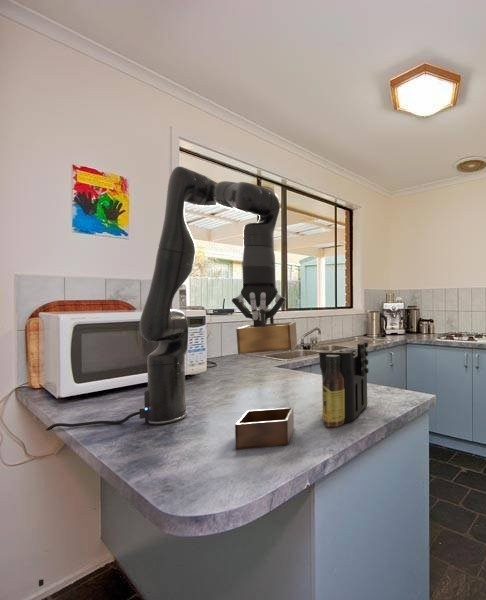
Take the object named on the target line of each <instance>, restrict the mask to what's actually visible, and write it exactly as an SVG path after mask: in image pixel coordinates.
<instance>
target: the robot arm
mask: <svg viewBox="0 0 486 600" xmlns="http://www.w3.org/2000/svg"><path fill="white" fill-rule="evenodd" d="M185 203H189V204H192V205H195V206H199V207H213V206H220V207H221V208H222V207H223V208H226V209H229V210H235V211H240V212H243V213H248V214H252V215H257V216H259V218H258V221H257V222H249V223H246V224H245V225H244V226H243V228H242V229H243V230H242V237H243V238H242V240H243V248H242V249H243V250H242V260H241V265H242V288H241V290H240V294H239V295H237V296H236V297H233V298H232V299H231V303H232V304H233V305H234V306H235V307H236V308H237V309H238V310H239V311H240V313H241V314H242V315H243V316H244V317H245V318H246V319H251V320H252V322H253V325H254V327H262V326H261V314H260V310H261V309H268V308H269V305H271V304H272V302H275V304H274V305H273V307H271V308H272V309H271V310H270V312H269V313H267V314H265V325H266V326H267V324H268V320H269V319H270V318H271V317H273V318H274V317H275V315H276V314H277V313H278V311H279V310H280V309H281V308H282V307H283V306H284V305H285V303H286V302H287V298H286V297H283V296H282V295H281V294H279V291H278V288H277V287H276V255H275V254H276V253H275V239H274V237H275V235H274V234H275V229H276V225H277V221H278V217H279V214H280V210H281V200H280V198H279V194H277V192H275V191H274V190H273V189H270V188H267V187H263V186H260V185H259V184H255V183H251V182H246V181H239V182H236V181H229V180H222V181H219V182H217V181H215V180H213V179H211V178H209V177H208V176H206V175H204V174H201V173H199V172H197V171H194V170H191V169H190V168H187V167H184V166H180V165H179V166H176V167H175V168H173V170H172V171H171V172H170V175H169V179H168V184H167V191H166V200H165V210H164V211H165V212H164V219H163V224H162V230H161V234H160V239H159V243H158V248H157V253H156V256H155V257H156V258H155V264H154V269H153V274H152V277H151V278H152V279H151V282H150V287H149V290H148V295H147V298H146V301H145V304H144V306H143V309H142V312H141V316H140V319H139V333H140V335H141V337H142V339H144V340H145V341H147V342H152V343H156V342H158V343H159V344H158V346H157V347H156V349H154V350H153V351H152V352H150V353H149V354H148V355H147V358H146V363H147V367H146V368H147V369H146V370H147V371H146V372H147V389H146V390H145V391H144V392H143V394H144V395H143V397H144V399H143V400H144V401H143V402H144V406H143V407H140V408H139V411H134V412H132V413H130V414H128V415H127V416H126V417H124V418H123V419H120V420H95V421H84V422H75V423H66V422H65V423H64V422H57V423H53V424H51V425H49V426H48V427H47V428H45V431H47V432H48V431H51V430H53V429H55V428H57V427H63V428H75V427H84V426H91V425H93V426H94V425H119V424H123V423H126V422H127V421H128V420H130V419H131V418H133V417H135V416H138V415H139V420H141V419H144V424H146V425H155V426H156V425H158V426H159V425H165V424H170V423H174V422H179V421H181V420H183V419H185V418H186V417H187V411H186V408H187V405H186V365H185V363H186V357H185V356H186V354H187V352H188V347H189V321H188V318H187V316H186V314H185V313H184V312H183V311H181V310H179V309H172V305H173V300H174V298H175V295H176V294H177V292H178V291H179V289H180V288H181V287H182V285H184V283H185V282H186V281H187V279H188V277H189V276H190V275H191V273H192V271H193V267H194V263H195V260H196V259H195V258H196V253H197V248H196V243H195V241H194V238H193V235H192V234H191V231H190V229H189V227H188V225H187V222H186V217H185ZM245 301H246V302H247V304H248V305H249V306H250V309H251V310H250V309H249V308H248V307H247V305H246V304H245V303H246V302H245ZM44 584H45V583H44V579H42V578H41V579H38V587H43V586H44Z"/></svg>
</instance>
